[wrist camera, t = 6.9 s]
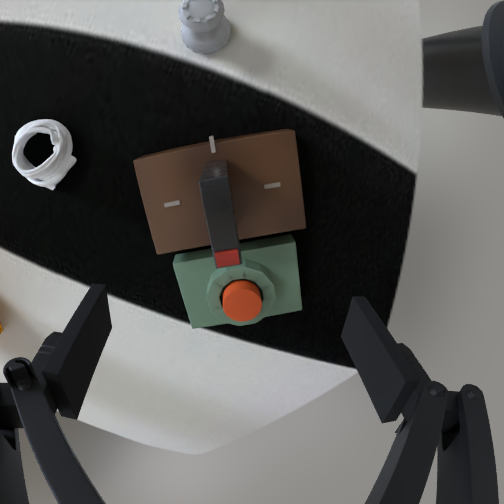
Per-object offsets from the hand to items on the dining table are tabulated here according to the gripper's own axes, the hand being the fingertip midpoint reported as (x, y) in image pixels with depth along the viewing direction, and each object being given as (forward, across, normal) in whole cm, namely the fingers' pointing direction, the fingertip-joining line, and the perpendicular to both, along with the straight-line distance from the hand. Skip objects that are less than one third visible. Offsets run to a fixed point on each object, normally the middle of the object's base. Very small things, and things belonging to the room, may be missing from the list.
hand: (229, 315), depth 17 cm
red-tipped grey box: (+14, -1, +3) cm, 14 cm away
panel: (+17, -1, +3) cm, 17 cm away
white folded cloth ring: (+17, -19, +6) cm, 26 cm away
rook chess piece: (+17, -3, +18) cm, 25 cm away
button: (+13, +2, -7) cm, 15 cm away
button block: (+17, +2, -7) cm, 18 cm away
